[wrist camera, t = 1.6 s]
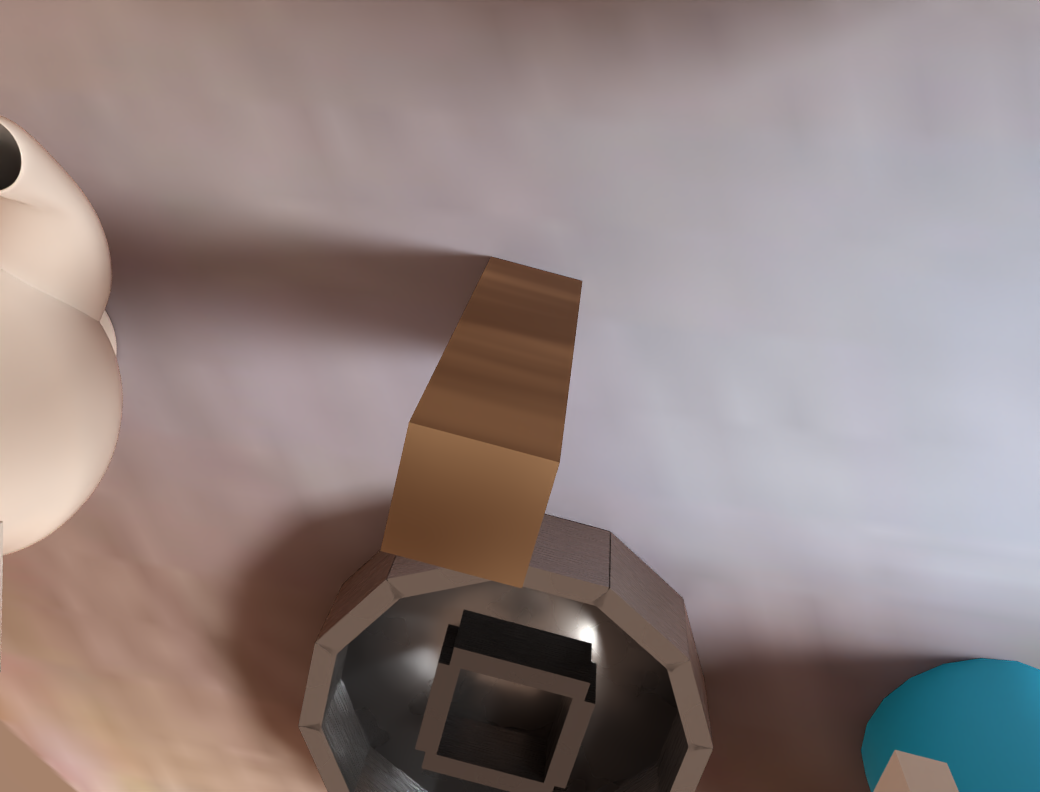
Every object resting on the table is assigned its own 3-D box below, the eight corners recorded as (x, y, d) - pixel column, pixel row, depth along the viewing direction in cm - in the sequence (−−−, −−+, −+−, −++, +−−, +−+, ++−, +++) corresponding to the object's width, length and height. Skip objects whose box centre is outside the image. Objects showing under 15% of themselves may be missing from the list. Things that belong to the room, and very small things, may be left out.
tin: (366, 466, 34) (340, 516, 30) (750, 568, 34) (764, 628, 31) (305, 761, 39) (277, 829, 36) (636, 848, 39) (637, 923, 36)
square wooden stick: (490, 256, 30) (408, 421, 18) (582, 281, 30) (559, 462, 18) (469, 342, 32) (380, 550, 20) (557, 365, 32) (521, 588, 20)
